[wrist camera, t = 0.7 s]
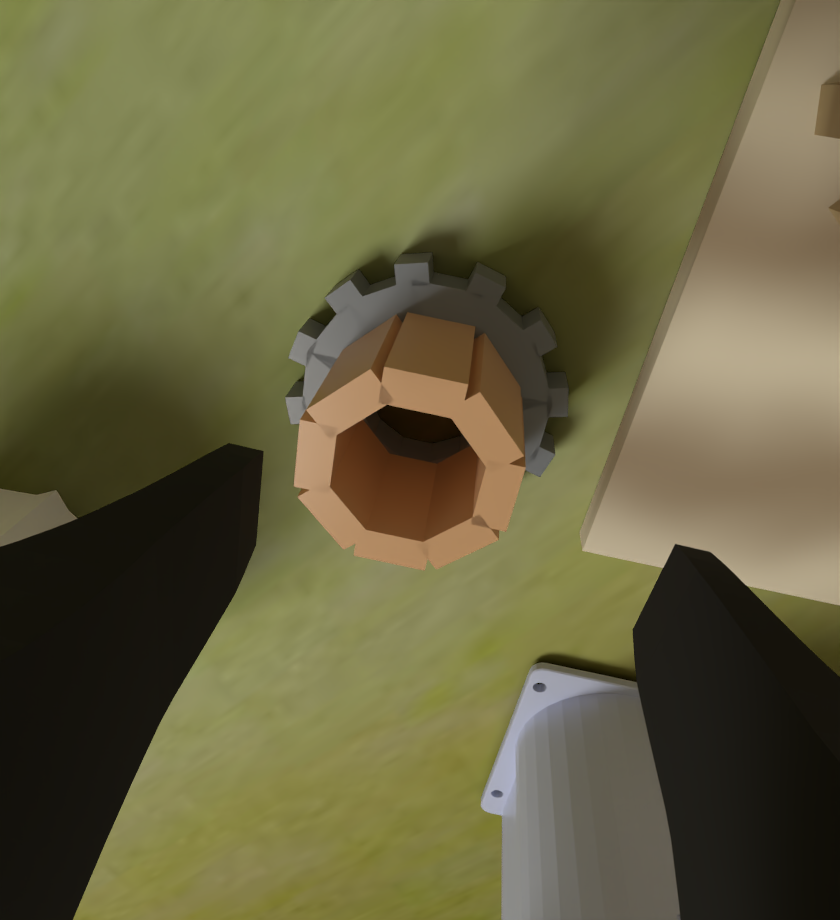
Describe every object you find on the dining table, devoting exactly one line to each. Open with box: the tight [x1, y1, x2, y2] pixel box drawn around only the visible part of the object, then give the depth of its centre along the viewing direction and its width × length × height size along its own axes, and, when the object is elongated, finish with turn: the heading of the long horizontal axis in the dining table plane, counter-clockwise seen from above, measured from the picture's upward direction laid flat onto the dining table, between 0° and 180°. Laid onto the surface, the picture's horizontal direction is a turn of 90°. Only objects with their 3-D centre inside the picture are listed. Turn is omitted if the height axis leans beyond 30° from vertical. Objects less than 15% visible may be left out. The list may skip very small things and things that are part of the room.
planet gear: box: [285, 252, 569, 570], centre depth 18 cm, size 8×8×5 cm
